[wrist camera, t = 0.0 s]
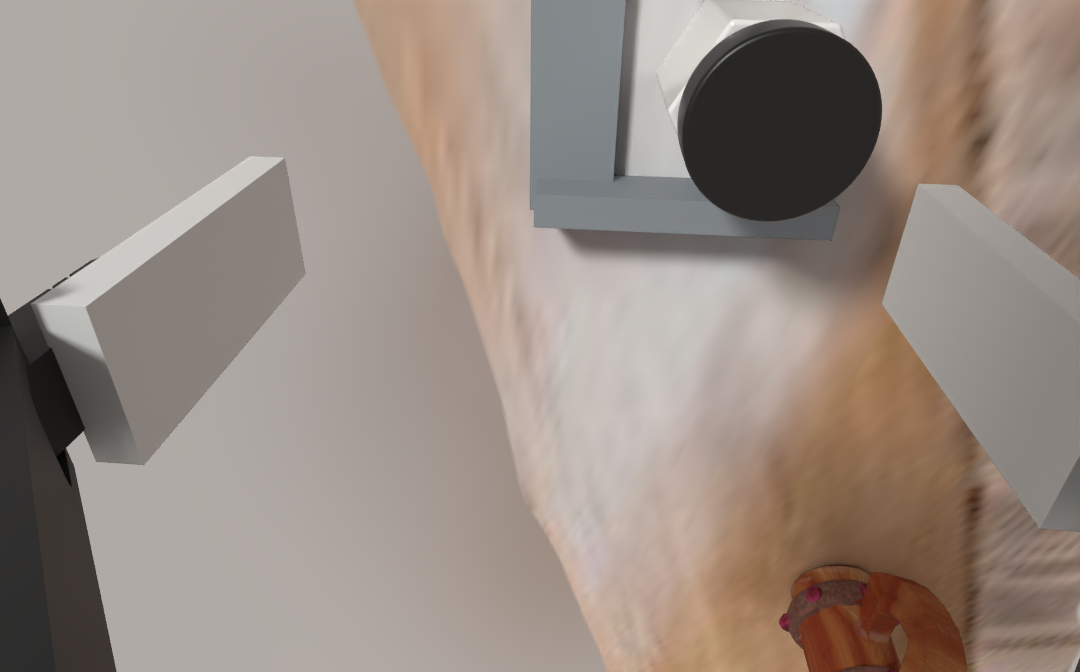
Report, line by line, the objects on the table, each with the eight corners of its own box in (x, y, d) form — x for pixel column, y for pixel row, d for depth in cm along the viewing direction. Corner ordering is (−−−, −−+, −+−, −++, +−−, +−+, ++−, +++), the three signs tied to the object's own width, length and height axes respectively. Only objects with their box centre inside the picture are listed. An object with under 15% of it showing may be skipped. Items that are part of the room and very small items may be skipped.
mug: (842, 631, 63) (902, 816, 50) (758, 607, 62) (797, 788, 49) (938, 523, 55) (1038, 707, 42) (844, 494, 54) (917, 673, 41)
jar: (740, 179, 42) (783, 263, 32) (630, 105, 40) (638, 168, 30) (849, 45, 38) (938, 93, 28) (730, -44, 36) (778, -29, 26)
